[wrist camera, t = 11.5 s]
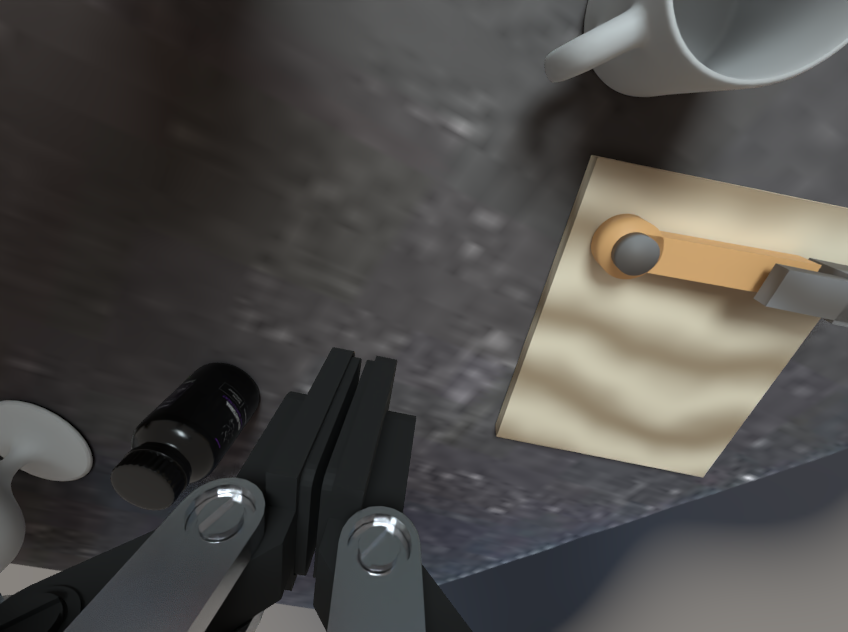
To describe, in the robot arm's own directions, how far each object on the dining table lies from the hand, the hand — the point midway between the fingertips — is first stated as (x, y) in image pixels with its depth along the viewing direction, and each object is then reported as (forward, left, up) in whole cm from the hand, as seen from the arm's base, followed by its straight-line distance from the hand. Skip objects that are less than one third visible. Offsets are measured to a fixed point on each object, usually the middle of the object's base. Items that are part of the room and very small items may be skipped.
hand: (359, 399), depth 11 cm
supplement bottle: (+21, -16, -22) cm, 35 cm away
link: (-1, +19, -20) cm, 28 cm away
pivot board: (+6, +21, -22) cm, 31 cm away
